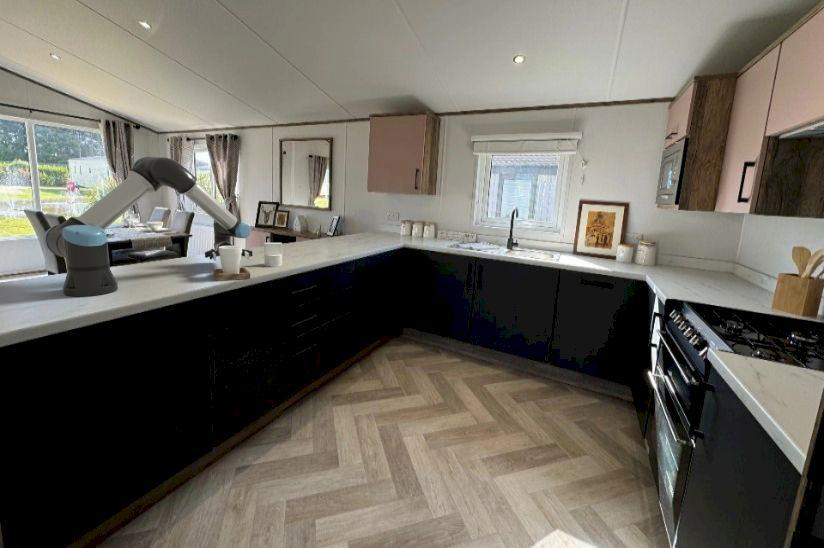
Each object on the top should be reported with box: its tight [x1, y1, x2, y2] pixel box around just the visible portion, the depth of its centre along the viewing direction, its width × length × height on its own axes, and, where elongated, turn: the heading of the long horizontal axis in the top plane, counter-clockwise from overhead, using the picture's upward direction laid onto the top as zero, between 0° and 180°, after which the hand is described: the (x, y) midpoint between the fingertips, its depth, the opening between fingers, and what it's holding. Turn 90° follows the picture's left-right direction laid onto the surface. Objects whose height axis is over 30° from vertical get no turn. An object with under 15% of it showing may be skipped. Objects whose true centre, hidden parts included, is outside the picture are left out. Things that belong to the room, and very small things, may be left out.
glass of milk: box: [263, 242, 283, 268], centre depth 200 cm, size 9×9×12 cm
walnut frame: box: [212, 266, 251, 282], centre depth 170 cm, size 14×14×3 cm
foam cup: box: [219, 245, 243, 274], centre depth 169 cm, size 10×9×13 cm
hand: (232, 257), depth 167 cm, fingers open, 13 cm apart
